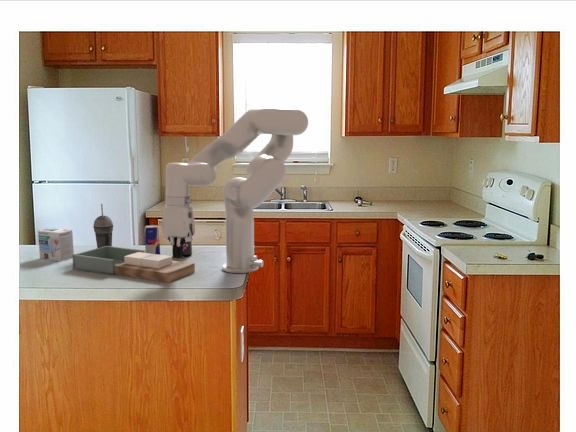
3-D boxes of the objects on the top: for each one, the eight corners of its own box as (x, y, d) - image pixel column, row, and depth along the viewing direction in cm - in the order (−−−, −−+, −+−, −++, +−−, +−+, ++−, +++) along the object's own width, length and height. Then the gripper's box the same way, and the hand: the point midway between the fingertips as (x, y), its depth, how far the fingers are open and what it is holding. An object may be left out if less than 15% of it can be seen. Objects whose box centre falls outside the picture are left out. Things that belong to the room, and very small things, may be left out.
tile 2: (172, 263, 178) (172, 256, 177) (159, 268, 172) (158, 260, 171) (155, 261, 181) (155, 254, 180) (142, 266, 174) (141, 258, 174)
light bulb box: (39, 258, 197) (36, 230, 195) (53, 254, 203) (51, 227, 201) (61, 261, 193) (59, 232, 191) (74, 257, 199) (73, 229, 197)
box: (145, 264, 189) (144, 250, 188) (113, 275, 174) (112, 260, 174) (107, 258, 196) (106, 245, 196) (73, 269, 182) (72, 254, 181)
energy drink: (151, 260, 195) (150, 228, 193) (142, 257, 198) (141, 226, 196) (163, 257, 199) (162, 226, 197) (154, 255, 202) (152, 224, 200)
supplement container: (171, 255, 202) (170, 228, 201) (186, 252, 207) (185, 226, 205) (180, 258, 198) (179, 230, 196) (195, 255, 202) (194, 228, 200)
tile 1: (154, 261, 181) (154, 254, 180) (141, 265, 175) (140, 258, 174) (138, 259, 184) (138, 252, 183) (124, 263, 178) (124, 256, 177)
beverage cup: (96, 259, 196) (93, 205, 193) (93, 255, 202) (90, 203, 199) (116, 257, 199) (113, 204, 196) (113, 253, 206) (110, 202, 202)
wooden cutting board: (194, 271, 179) (194, 263, 178) (168, 282, 166) (168, 273, 166) (143, 264, 188) (143, 256, 187) (115, 274, 175) (114, 265, 175)
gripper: (204, 202, 169) (203, 258, 171) (166, 198, 175) (166, 252, 178) (190, 204, 162) (189, 263, 165) (151, 200, 168) (151, 257, 171)
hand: (177, 257), depth 171 cm, fingers closed
